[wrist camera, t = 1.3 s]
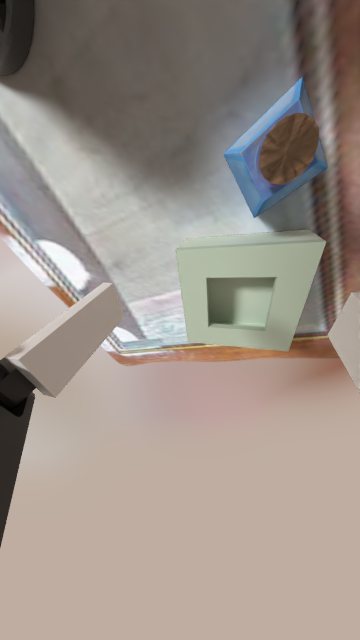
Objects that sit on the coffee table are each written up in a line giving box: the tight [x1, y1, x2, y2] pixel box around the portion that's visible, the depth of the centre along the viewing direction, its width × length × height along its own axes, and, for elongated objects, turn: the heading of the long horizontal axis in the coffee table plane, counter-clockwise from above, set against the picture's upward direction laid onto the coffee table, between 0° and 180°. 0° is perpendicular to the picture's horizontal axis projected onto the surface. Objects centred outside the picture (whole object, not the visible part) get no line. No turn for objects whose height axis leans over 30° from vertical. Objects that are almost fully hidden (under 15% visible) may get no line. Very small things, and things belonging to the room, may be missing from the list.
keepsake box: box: [176, 229, 326, 351], centre depth 27 cm, size 16×16×6 cm
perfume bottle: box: [224, 77, 328, 218], centre depth 15 cm, size 6×6×12 cm
